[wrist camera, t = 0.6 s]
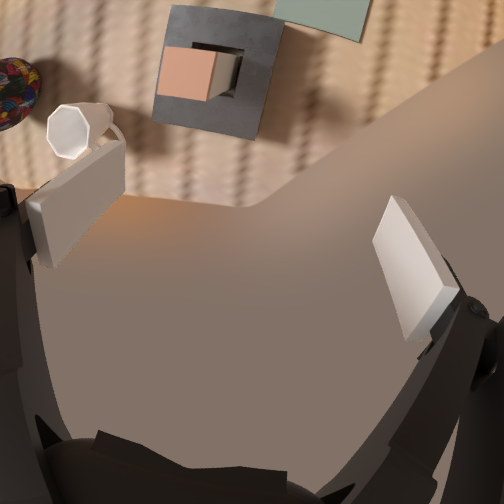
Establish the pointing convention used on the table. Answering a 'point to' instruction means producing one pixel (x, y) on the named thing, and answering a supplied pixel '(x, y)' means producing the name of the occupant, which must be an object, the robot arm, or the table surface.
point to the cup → (79, 128)
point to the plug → (196, 73)
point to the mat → (326, 15)
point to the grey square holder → (250, 76)
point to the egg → (17, 91)
